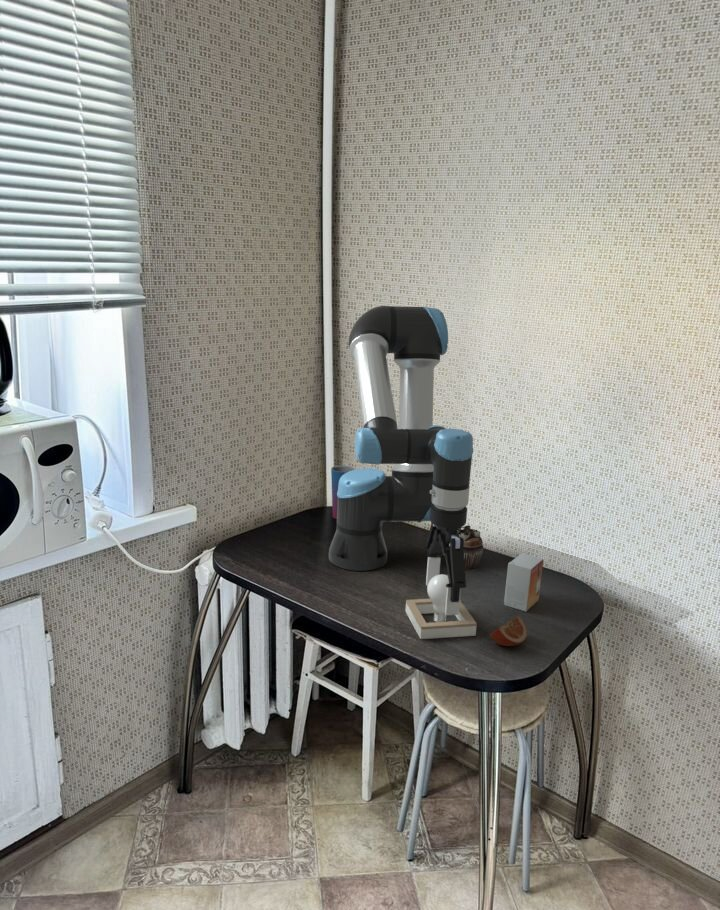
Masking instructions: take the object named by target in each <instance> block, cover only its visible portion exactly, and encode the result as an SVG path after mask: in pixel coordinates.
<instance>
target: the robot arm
mask: <svg viewBox="0 0 720 910" xmlns="http://www.w3.org/2000/svg"><path fill="white" fill-rule="evenodd" d="M448 331H449V329H448V324H447V320H446V317H445V315H444V313H443V311H442V310H440V309H439V308H435V307H426V306H401V305H400V306H396V305H395V306H393V305H392V306H391V305H380V306H375V307H372V308H371V309H368V310H367V311H366V312H364V313H362V315H361V316H360V317H359V318H358V319H357V320H356V321H355V322H354V323H353V326H352V329H351V331H350V333H349V336H348V352H349V356H350V358H351V359H352V360H353V361H354V367H355V375H356V381H357V390H358V397H359V399H358V400H359V406H360V414H361V423H362V428H358V429H357V430H356V433H355V438H354V439H355V440H354V448H355V449H354V450H355V451H354V452H355V458H356V460H357V462H359V463H361V464H367V465H368V464H370V465H391V464H392V465H394V466H393V467H391V475H386V473H385V471H384V470H382V469H379V468H372V467H371V468H367V467H366V468H357V469H354V470H352V471H349V472H347V473H345V474H344V475H342V476H341V478H340V480H339V485H338V492H337V496H338V507H337V519H336V530H335V533H334V535H333V537H332V541H331V542H330V546H329V549H328V560H329V562H330V563H331V564H332V565H334V566H336V567H338V568H341V569H344V570H348V571H356V572H358V571H359V572H360V571H361V572H362V571H371V570H372V571H373V570H376V569H380V568H382V567H383V566H385V565H386V564H387V562H388V549H387V546H386V542H385V538H384V535H383V523H386V522H387V523H393V522H394V523H397V522H398V523H401V522H402V523H403V522H405V523H406V522H412V523H413V522H417V523H422V522H430V526H429V527H430V528H429V531H428V535H427V538H426V542H425V544H424V549H425V551H427V552H426V554H427V565H426V577H425V585H426V586H428V583H429V581H430V580H431V579H432V578H433V577H434V576H436V575H439V574H440V571H441V559H442V558H441V556H444V557H445V564H446V571H447V575H448V579H449V584H447V585H446V587H447V593H446V605H445V615H446V616H455V615H459V604H460V601H461V592H462V591H461V589H465V588H466V587H467V580H466V569H465V565H464V551H463V547H464V539H463V538H459V535H458V531H457V530H458V529H459V528H460V527H465V526H466V524H467V518H468V517H467V516H468V507H467V506H468V504H469V498H470V483H471V482H470V481H471V471H472V461H473V454H474V437H473V435H472V433H470V431H466V430H465V429H464V430H463V429H459V428H446V427H444V426H442V425H439V424H436V425H433V424H434V423H433V422H434V421H433V420H434V419H433V418H434V384H435V382H434V379H435V378H434V377H435V375H434V373H435V367H437V365H438V364H439V363H441V356H444V355H445V354H446V353H447V351H448V348H449V347H448V344H449V332H448ZM388 354H393V361H394V363H395V364H396V365H397V366H398V368H399V390H398V391H399V393H398V394H399V396H398V403H399V404H398V421H397V415H396V410H395V404H394V403H395V402H394V398H393V391H392V385H391V384H392V383H391V379H390V373H389V367H388V361H387V355H388Z"/></svg>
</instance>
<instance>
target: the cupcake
mask: <svg viewBox="0 0 720 910" xmlns="http://www.w3.org/2000/svg"><path fill="white" fill-rule="evenodd" d="M457 531H458V535H459V538H463V539H464V547H463V551H464V565H465V570H467V569H468V570H471V569H475V568H477V567H478V566H479V564H480V561H481V557H482V555H483V551H484V543H483V542H484V541H483V538H482V537H481V531H480V530H478V529H474V528H471V525H469V524H468V525H464V526H462V527H460V528H459V529H458V530H457Z"/></svg>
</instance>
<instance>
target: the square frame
mask: <svg viewBox="0 0 720 910" xmlns="http://www.w3.org/2000/svg"><path fill="white" fill-rule="evenodd" d="M405 613H406V616H407V617H408V618H409V620H410V622H411V624H412V626H413V628H414V631H416V634H417V635H418V637H419V639H420V640H426V639H428V640H429V639H443V638H457V637H472V636H476V634H477V627H478V626H477V624H478V623H477V622H476V621H475V618H474V617H473V616H472V614H471V613H470V611H468V609H467V608H466V606H465V604H463V602H462V600H460V604H459V615H454V616H455V617H456V619H457V620H455V621H452V620H451V621H449V620H448V621H446V622H435V621H434V622H427V621H426V620H425V618H424V617H423V615H424V614H434V608H433V603H432V601H431V599H430V598H417V599H415V598H414V599H413V598H412V599H406V600H405ZM422 614H423V615H422Z"/></svg>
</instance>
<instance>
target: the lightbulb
mask: <svg viewBox="0 0 720 910" xmlns="http://www.w3.org/2000/svg"><path fill="white" fill-rule="evenodd" d="M447 584H449V579H448V574H442V573H441V574H440V573H439V575H436V576H434V577H433V578H432V579H431V580H430V581H429V583H428V586H427V585H426V586H427V587H426V591H427V595H428V598H429V599H431V601H432V603H433V608H434V613H433V621H434V622H447V615H445V605H446V593H447V587H446V585H447Z"/></svg>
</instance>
